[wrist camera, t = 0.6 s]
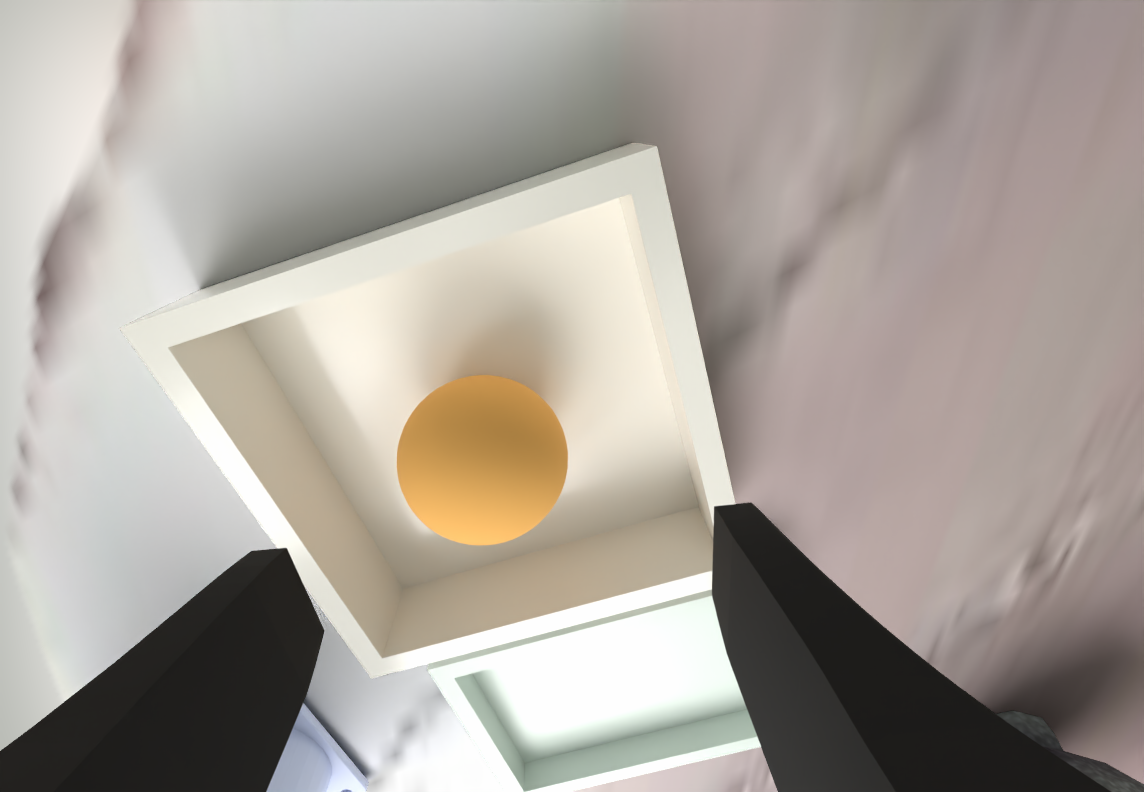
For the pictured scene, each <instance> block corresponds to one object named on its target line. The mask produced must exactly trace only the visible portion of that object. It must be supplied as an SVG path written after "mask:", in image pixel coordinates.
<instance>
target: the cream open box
mask: <svg viewBox="0 0 1144 792" xmlns="http://www.w3.org/2000/svg"><path fill="white" fill-rule="evenodd" d="M119 329H120V331H121V332H122V334H123V335H124V336H125V338H126V339H127V341H128V342H129V343H130V345H131V346H132V347H133V349H134V350H135V352H136V353H137V354H138V356H139V357H140V359H141V360H142V361H143V363H144V364H145V366H146V367H147V368H148V370H149V371H150V372H151V374H152V375H153V377H154V378H155V379H156V381H157V382H158V384H159V385H160V386H161V388H162V389H163V391H164V392H165V393H166V395H167V396H168V397H169V399H170V400H171V402H172V403H173V404H174V406H175V407H176V409H177V410H178V411H179V413H180V414H181V416H182V417H183V418H184V420H185V421H186V422H187V424H188V425H189V427H190V428H191V429H192V431H193V432H194V434H195V435H196V436H197V438H198V439H199V440H200V442H201V443H202V445H203V446H204V447H205V449H206V450H207V452H208V453H209V454H210V456H211V457H212V459H213V460H214V461H215V463H216V464H217V465H218V467H219V468H220V470H221V471H222V472H223V474H224V475H225V477H226V478H227V479H228V481H229V482H230V484H231V485H232V486H233V488H234V489H235V490H236V492H237V493H238V495H239V496H240V497H241V499H242V500H243V502H244V503H245V504H246V506H247V507H248V509H249V510H250V511H251V513H252V514H253V515H254V517H255V518H256V520H257V521H258V522H259V524H260V525H261V527H262V528H263V529H264V531H265V532H266V534H267V535H268V536H269V538H270V539H271V540H272V542H273V543H274V545H275V546H276V547H277V549H279V548H287V549H288V552H289V554H290V556H291V558H292V560H293V563H294V565H295V567H296V569H297V572H298V574H299V576H300V578H301V580H302V583H303V585H304V586H305V588H306V589H307V590H308V592H309V593H310V595H311V596H312V597H313V599H314V600H315V602H316V603H317V604H318V606H319V607H320V608H321V610H322V611H323V613H324V614H325V615H326V617H327V618H328V620H329V621H330V622H331V624H332V625H333V627H334V628H335V629H336V631H337V632H338V633H339V635H340V636H341V638H342V639H343V640H344V642H345V643H346V645H347V646H348V647H349V649H350V650H351V652H352V653H353V654H354V656H355V657H356V658H357V660H358V661H359V663H360V664H361V665H362V667H363V668H364V670H365V671H366V672H367V674H368V675H369V677H370V678H371V679H372V678H376V677H380V676H384V675H388V674H391V673H395V672H399V671H403V670H407V669H410V668H414V667H418V666H422V665H426V664H429V663H433V662H437V661H441V660H445V659H448V658H452V657H456V656H460V655H464V654H468V653H471V652H475V651H479V650H483V649H487V648H490V647H494V646H498V645H502V644H506V643H509V642H513V641H517V640H521V639H525V638H528V637H532V636H536V635H540V634H544V633H547V632H551V631H555V630H559V629H563V628H566V627H570V626H574V625H578V624H582V623H585V622H589V621H593V620H597V619H601V618H604V617H608V616H612V615H616V614H620V613H623V612H627V611H631V610H635V609H639V608H642V607H646V606H650V605H654V604H658V603H662V602H665V601H669V600H673V599H677V598H681V597H684V596H688V595H692V594H696V593H700V592H703V591H707V590H711V589H712V565H713V528H714V506H722V505H732V504H735V500H734V495H733V491H732V486H731V481H730V477H729V472H728V468H727V463H726V459H725V454H724V450H723V445H722V440H721V436H720V431H719V427H718V422H717V418H716V413H715V408H714V404H713V399H712V395H711V390H710V386H709V381H708V376H707V372H706V367H705V363H704V358H703V354H702V349H701V345H700V340H699V335H698V331H697V326H696V322H695V317H694V313H693V308H692V303H691V299H690V294H689V290H688V285H687V281H686V276H685V272H684V267H683V262H682V258H681V253H680V249H679V244H678V240H677V235H676V230H675V226H674V221H673V217H672V212H671V208H670V203H669V199H668V194H667V189H666V185H665V180H664V176H663V171H662V167H661V162H660V157H659V153H658V148H657V146H654V145H648V144H641V143H635V142H633V143H630V144H627V145H624V146H621V147H618V148H615V149H612V150H609V151H606V152H603V153H600V154H597V155H594V156H592V157H589V158H586V159H583V160H580V161H577V162H574V163H571V164H568V165H565V166H562V167H559V168H556V169H553V170H550V171H547V172H544V173H542V174H539V175H536V176H533V177H530V178H527V179H524V180H521V181H518V182H515V183H512V184H509V185H506V186H503V187H500V188H497V189H494V190H492V191H489V192H486V193H483V194H480V195H477V196H474V197H471V198H468V199H465V200H462V201H459V202H456V203H453V204H450V205H447V206H445V207H442V208H439V209H436V210H433V211H430V212H427V213H424V214H421V215H418V216H415V217H412V218H409V219H406V220H403V221H400V222H397V223H395V224H392V225H389V226H386V227H383V228H380V229H377V230H374V231H371V232H368V233H365V234H362V235H359V236H356V237H353V238H350V239H348V240H345V241H342V242H339V243H336V244H333V245H330V246H327V247H324V248H321V249H318V250H315V251H312V252H309V253H306V254H303V255H300V256H298V257H295V258H292V259H289V260H286V261H283V262H280V263H277V264H274V265H271V266H268V267H265V268H262V269H259V270H256V271H253V272H250V273H248V274H245V275H242V276H239V277H236V278H233V279H230V280H227V281H224V282H221V283H218V284H215V285H212V286H209V287H206V288H203V289H201V290H198V291H196V292H194V293H192V294H189V295H187V296H185V297H183V298H181V299H179V300H177V301H175V302H173V303H170V304H168V305H166V306H164V307H162V308H160V309H158V310H156V311H154V312H151V313H149V314H147V315H145V316H143V317H141V318H139V319H137V320H135V321H132V322H130V323H128V324H126V325H124V326H122V327H120V328H119ZM475 375H492V376H500V377H504V378H508V379H511V380H514V381H516V382H519V383H521V384H523V385H525V386H527V387H528V388H530V389H531V390H533V391H534V392H536V393H537V394H538V395H539V396H540V397H541V398H542V399H543V400H544V401H546V403H547V404H548V405H549V406H550V407H551V409H552V410H553V412H554V413H555V415H556V416H557V418H558V420H559V422H560V424H561V426H562V429H563V431H564V435H565V438H566V443H567V449H568V469H567V475H566V479H565V483H564V486H563V489H562V492H561V494H560V496H559V498H558V500H557V502H556V503H555V505H554V507H553V508H552V509H551V511H550V512H549V513H548V514H547V515H546V517H545V518H544V519H543V520H542V521H541V522H540V523H539V524H538V525H536V526H535V527H534V528H533V529H531V530H530V531H528V532H526V533H525V534H523V535H521V536H519V537H517V538H515V539H513V540H510V541H507V542H504V543H499V544H494V545H468V544H463V543H459V542H455V541H452V540H449V539H447V538H445V537H442V536H441V535H439V534H437V533H435V532H434V531H432V530H431V529H430V528H428V527H427V526H426V525H425V524H424V523H423V522H422V521H421V520H420V519H419V518H418V517H417V516H416V515H415V514H414V512H413V511H412V510H411V508H410V507H409V505H408V503H407V501H406V499H405V497H404V495H403V493H402V491H401V487H400V484H399V480H398V474H397V449H398V444H399V440H400V437H401V434H402V431H403V428H404V426H405V424H406V422H407V420H408V418H409V417H410V415H411V414H412V412H413V411H414V409H415V408H416V407H417V406H418V404H419V403H420V402H421V401H423V400H424V399H425V398H426V397H427V396H428V395H429V394H430V393H432V392H433V391H434V390H436V389H437V388H439V387H441V386H443V385H445V384H447V383H449V382H451V381H454V380H457V379H459V378H464V377H468V376H475Z"/></svg>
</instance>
